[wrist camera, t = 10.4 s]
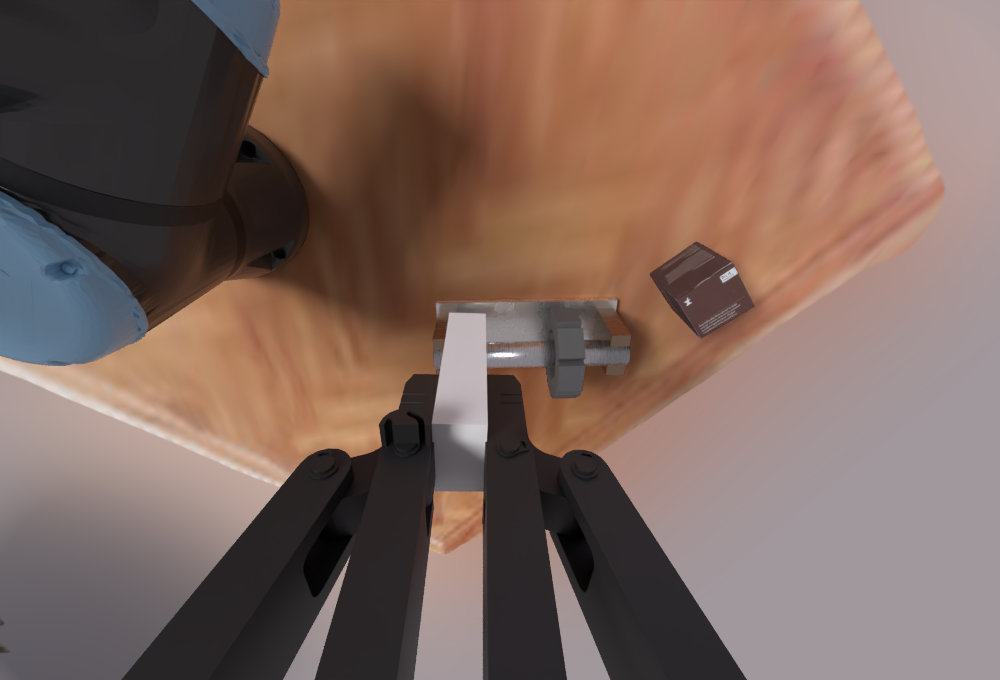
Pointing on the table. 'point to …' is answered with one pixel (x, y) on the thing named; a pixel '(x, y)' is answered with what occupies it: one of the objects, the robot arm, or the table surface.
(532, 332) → the pipe rig
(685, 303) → the box
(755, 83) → the table surface
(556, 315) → the grey hex nut
